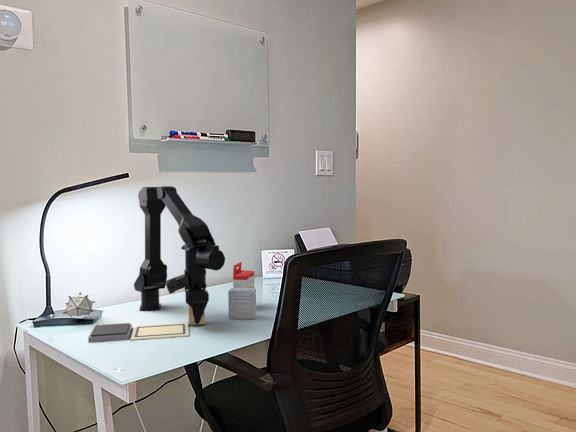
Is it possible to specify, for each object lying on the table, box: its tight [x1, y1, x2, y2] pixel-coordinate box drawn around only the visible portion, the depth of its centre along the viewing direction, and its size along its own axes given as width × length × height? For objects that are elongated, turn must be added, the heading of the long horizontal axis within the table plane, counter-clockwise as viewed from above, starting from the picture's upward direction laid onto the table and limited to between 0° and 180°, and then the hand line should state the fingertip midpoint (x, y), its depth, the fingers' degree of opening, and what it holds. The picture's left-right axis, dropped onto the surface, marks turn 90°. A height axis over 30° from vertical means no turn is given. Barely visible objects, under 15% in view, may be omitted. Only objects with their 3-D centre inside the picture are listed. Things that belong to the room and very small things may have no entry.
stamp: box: [187, 304, 206, 328], centre depth 143 cm, size 4×4×6 cm
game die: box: [62, 292, 96, 317], centre depth 147 cm, size 9×8×10 cm
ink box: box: [232, 261, 255, 288], centre depth 161 cm, size 8×5×15 cm, turn 168°
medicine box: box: [227, 287, 257, 320], centre depth 150 cm, size 8×4×9 cm, turn 84°
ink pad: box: [87, 322, 133, 343], centre depth 133 cm, size 10×10×2 cm
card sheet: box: [129, 322, 190, 341], centre depth 136 cm, size 12×15×1 cm
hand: (196, 319), depth 143 cm, fingers open, 9 cm apart
